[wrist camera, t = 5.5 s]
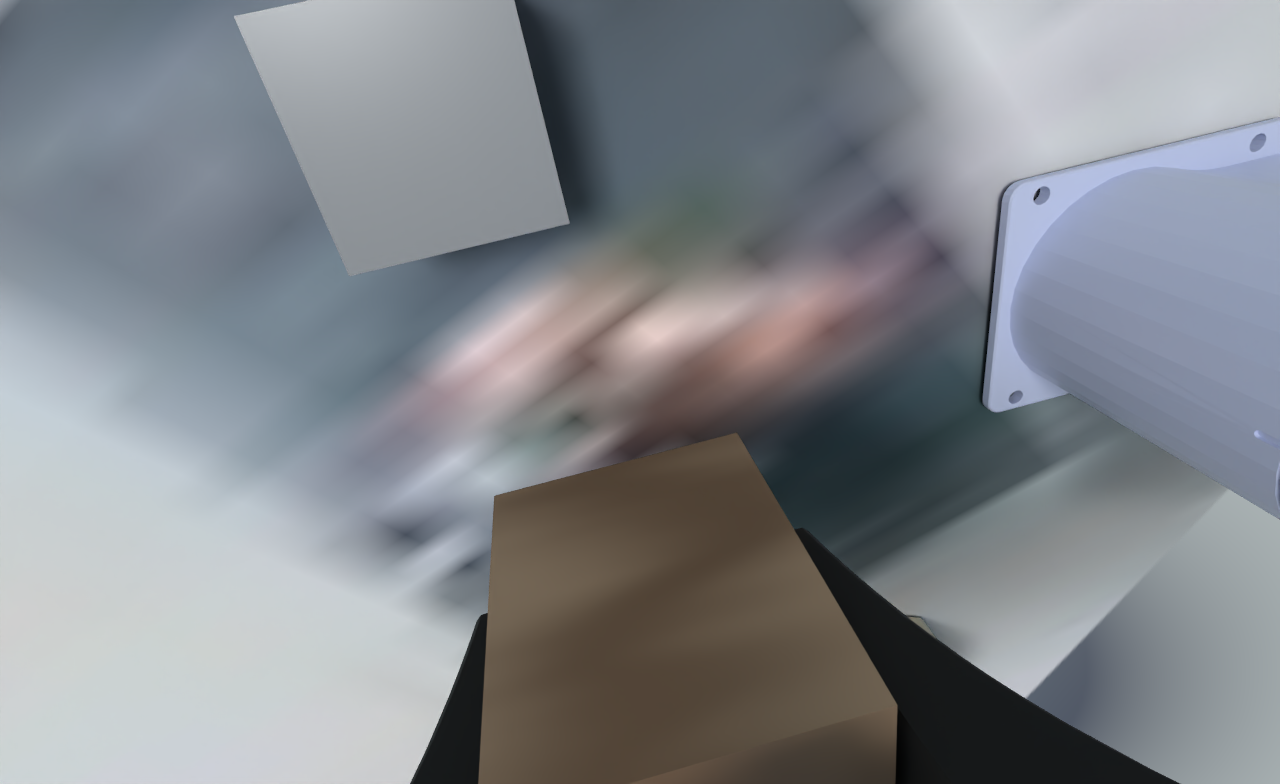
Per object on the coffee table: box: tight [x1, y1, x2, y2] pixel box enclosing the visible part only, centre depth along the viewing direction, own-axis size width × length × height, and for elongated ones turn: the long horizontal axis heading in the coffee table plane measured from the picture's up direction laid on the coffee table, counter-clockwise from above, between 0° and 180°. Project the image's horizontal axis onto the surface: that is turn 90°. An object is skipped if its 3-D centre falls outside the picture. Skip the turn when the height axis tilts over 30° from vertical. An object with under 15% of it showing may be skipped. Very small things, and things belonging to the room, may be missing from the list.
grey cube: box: [234, 0, 570, 276], centre depth 13 cm, size 4×4×4 cm
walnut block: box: [478, 433, 897, 784], centre depth 10 cm, size 4×4×6 cm
